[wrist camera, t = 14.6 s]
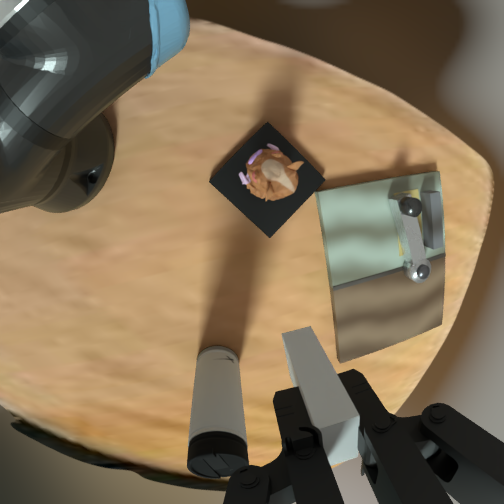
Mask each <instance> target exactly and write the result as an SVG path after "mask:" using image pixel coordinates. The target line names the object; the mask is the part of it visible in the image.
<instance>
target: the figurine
mask: <svg viewBox="0 0 504 504" xmlns="http://www.w3.org/2000/svg"><path fill="white" fill-rule="evenodd" d="M324 181H325V179H324V178H323V176H322V175H321V174H320V173H319V172H318V171H317V170H316V169H315V168H314V167H313V166H312V165H311V164H310V163H309V162H308V161H307V160H306V159H305V158H304V157H303V156H302V155H301V154H300V153H299V152H298V151H297V150H296V149H295V148H294V147H293V146H292V145H291V144H290V143H289V142H288V141H287V140H286V139H285V138H284V137H283V136H282V135H281V134H280V133H279V132H278V131H277V130H276V129H275V128H274V127H273V126H272V125H271V124H269V123H268V122H267V123H266V124H265V125H264V126H263V127H262V128H261V129H260V130H258V131H257V132H256V133H255V134H254V135H253V136H252V137H251V138H250V139H249V140H248V141H247V142H246V143H245V144H244V145H243V146H242V147H241V148H240V149H239V150H238V152H237V153H236V154H235V155H234V156H233V157H232V158H231V159H230V160H229V161H228V162H227V163H226V164H225V165H224V166H223V167H222V168H221V169H220V170H219V171H218V172H217V173H216V174H215V176H214V177H213V178H212V179H211V180H210V181H209V182H210V183H211V184H212V185H213V186H214V187H215V188H216V189H217V190H218V191H219V192H221V193H222V194H223V195H224V196H225V197H226V198H227V199H228V200H229V201H230V202H231V203H232V204H234V205H235V206H236V207H237V208H238V209H239V210H240V211H241V212H242V213H243V214H244V215H245V216H247V217H248V218H249V219H250V220H251V221H252V222H253V223H254V224H255V225H256V226H257V227H258V228H259V229H260V230H262V231H263V232H264V233H265V234H266V235H267V236H268V237H269V238H271V236H272V235H273V234H274V233H275V232H276V231H277V230H278V229H279V228H280V227H281V226H282V225H283V224H284V223H285V222H286V221H287V220H288V219H289V218H290V217H291V216H292V215H293V214H294V213H295V211H296V210H297V209H298V208H299V207H300V206H301V205H302V204H303V203H304V202H305V201H306V200H307V199H308V198H309V197H310V196H311V195H312V194H313V193H314V192H315V191H316V190H317V189H318V187H319V186H320V185H321V184H322V183H323V182H324Z"/></svg>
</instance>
